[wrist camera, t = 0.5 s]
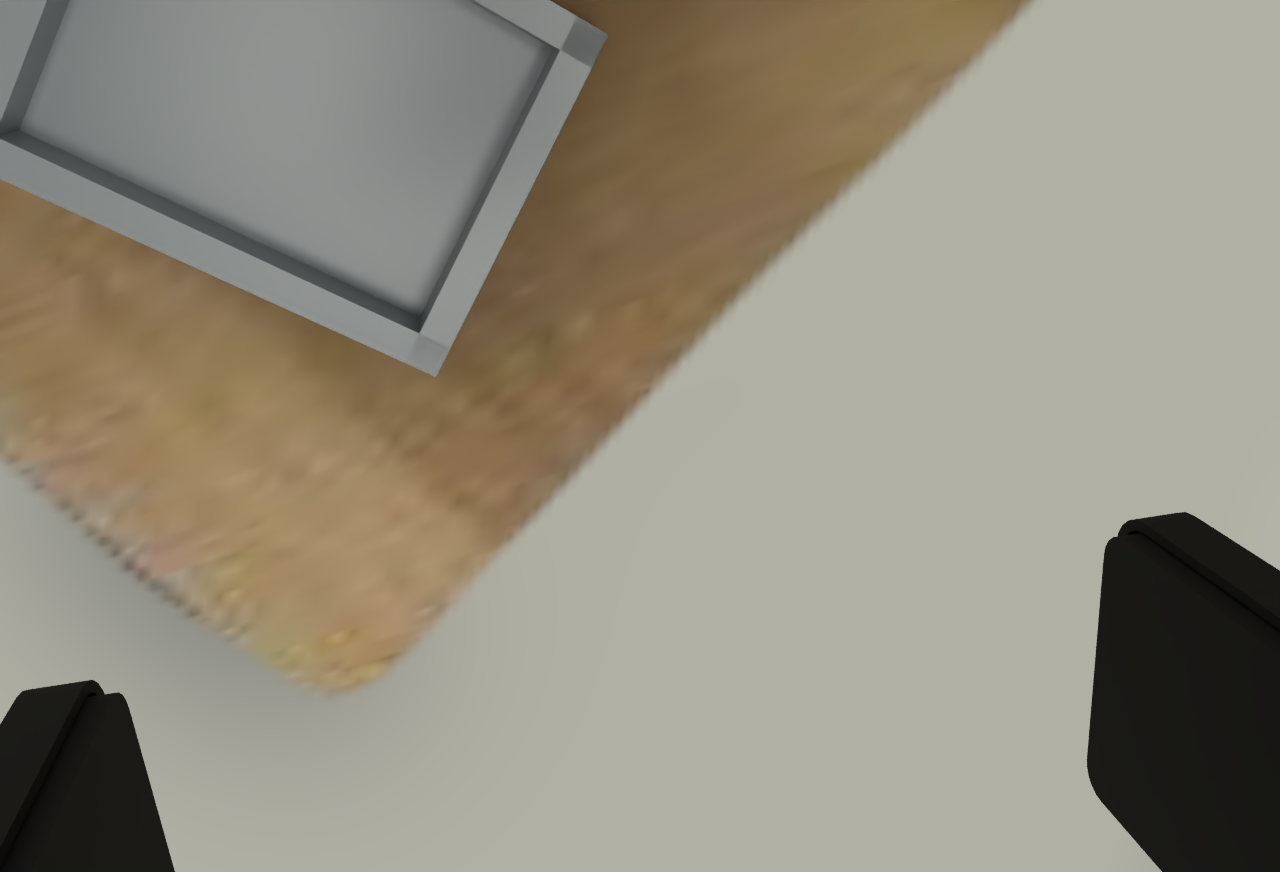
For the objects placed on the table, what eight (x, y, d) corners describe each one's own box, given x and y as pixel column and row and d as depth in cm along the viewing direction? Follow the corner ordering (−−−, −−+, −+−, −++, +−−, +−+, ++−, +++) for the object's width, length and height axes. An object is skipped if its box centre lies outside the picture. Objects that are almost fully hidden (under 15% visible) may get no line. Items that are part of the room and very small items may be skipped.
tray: (123, -244, 29) (97, -267, 27) (596, 33, 33) (608, 34, 31) (-24, 143, 32) (-59, 152, 29) (435, 354, 36) (435, 377, 34)
